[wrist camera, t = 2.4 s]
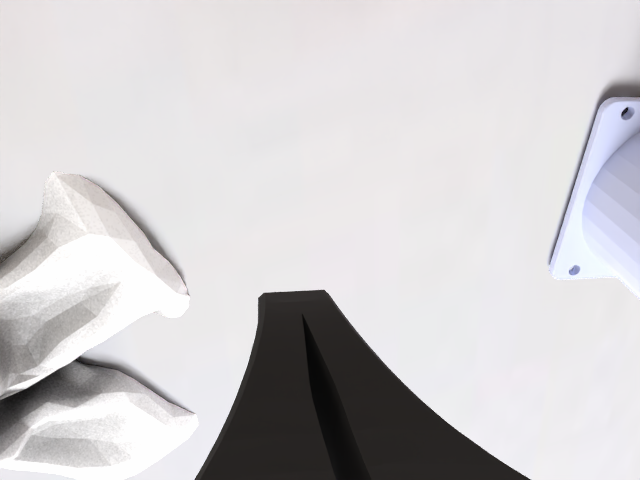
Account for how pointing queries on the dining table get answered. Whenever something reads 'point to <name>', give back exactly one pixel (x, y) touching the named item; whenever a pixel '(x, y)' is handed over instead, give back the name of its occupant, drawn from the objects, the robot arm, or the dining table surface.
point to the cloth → (82, 341)
